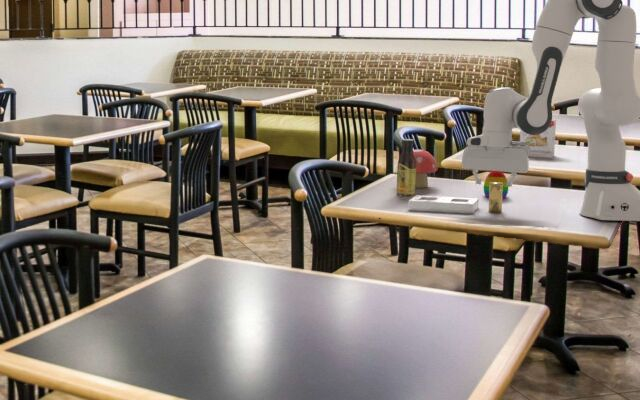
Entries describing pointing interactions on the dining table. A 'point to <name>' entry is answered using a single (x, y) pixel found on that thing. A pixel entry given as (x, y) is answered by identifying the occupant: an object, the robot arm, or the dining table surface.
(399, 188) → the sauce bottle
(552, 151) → the cracker box
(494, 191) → the brass cylinder
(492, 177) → the decorative egg
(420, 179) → the decorative mushroom
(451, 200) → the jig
